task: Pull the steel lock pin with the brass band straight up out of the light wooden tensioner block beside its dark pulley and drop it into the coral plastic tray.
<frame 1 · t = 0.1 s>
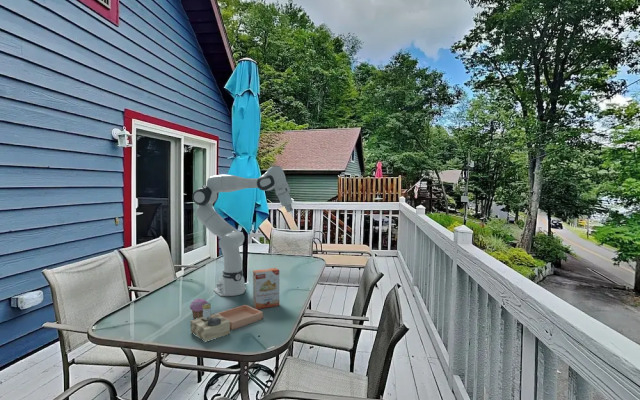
hand: (290, 211, 208), 52 cm above the table, tool tilted 20°, fingers open, 8 cm apart
cupcake: (199, 318, 173), on the table
lock pin: (207, 331, 156), resting in tensioner block
tray: (239, 319, 170), on the table
tensioner block: (210, 333, 154), on the table
cracker box: (266, 306, 189), on the table
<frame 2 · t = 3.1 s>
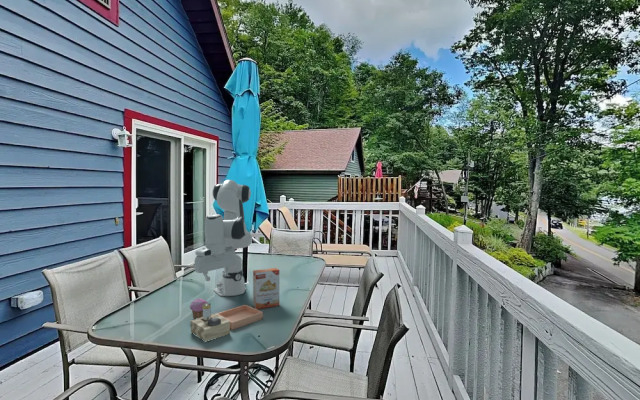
hand: (217, 278, 156), 25 cm above the table, tool pointing down, fingers open, 8 cm apart
nothing on the table moved.
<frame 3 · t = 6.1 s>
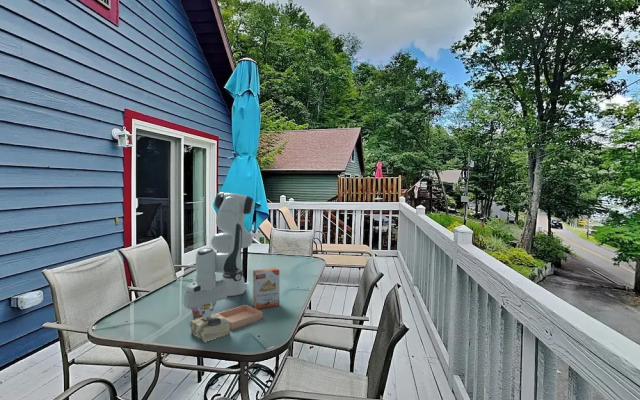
hand: (206, 312, 156), 9 cm above the table, tool pointing down, fingers closed on lock pin, 3 cm apart
lock pin: (207, 331, 156), resting in tensioner block, touching gripper
everything else where it was.
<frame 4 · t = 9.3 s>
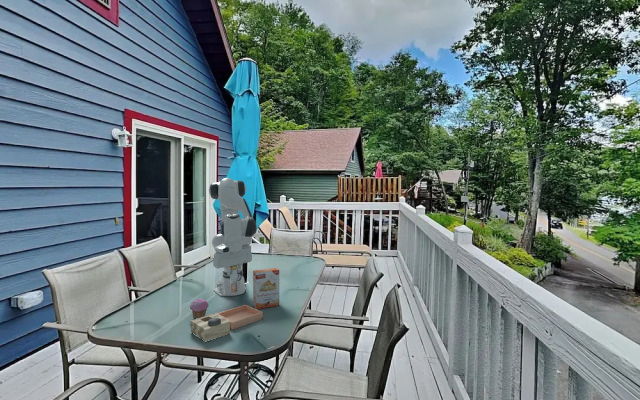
hand: (233, 273, 167), 24 cm above the table, tool pointing down, fingers closed on lock pin, 3 cm apart
lock pin: (233, 291, 168), point 15 cm above the table, touching gripper
everything else where it was.
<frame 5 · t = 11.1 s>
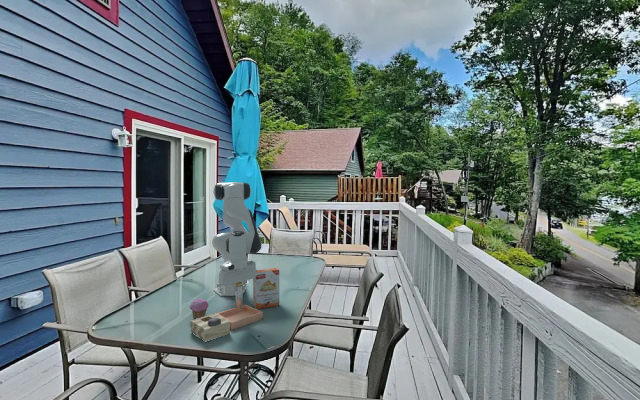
hand: (238, 290, 169), 15 cm above the table, tool pointing down, fingers closed on lock pin, 3 cm apart
lock pin: (239, 307, 170), point 6 cm above the table, touching gripper
everything else where it was.
when the fingers open (12 cm above the table, at t = 12.4 s): lock pin drops 1 cm, resting on tray.
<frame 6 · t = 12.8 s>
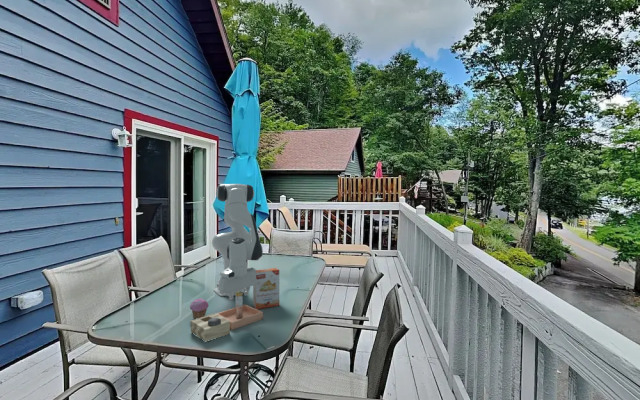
hand: (238, 297, 170), 12 cm above the table, tool pointing down, fingers open, 7 cm apart
lock pin: (239, 317, 170), point 1 cm above the table, touching tray
everything else where it was.
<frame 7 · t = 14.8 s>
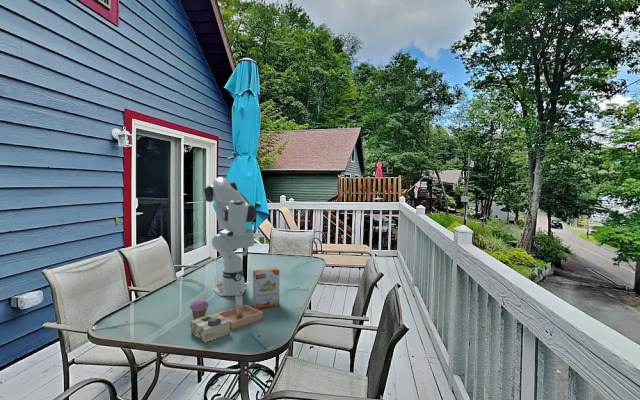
hand: (236, 256, 177), 31 cm above the table, tool pointing down, fingers open, 8 cm apart
nothing on the table moved.
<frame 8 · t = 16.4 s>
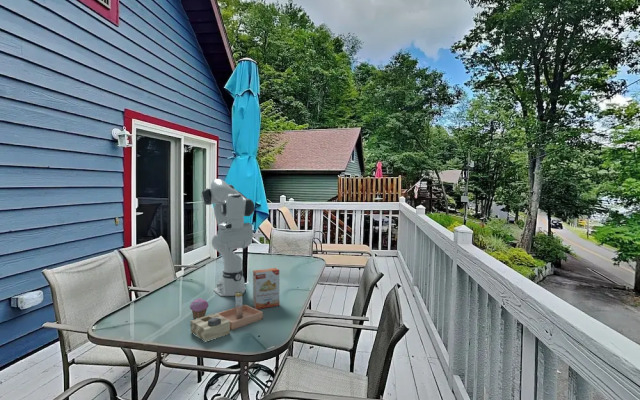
hand: (236, 249, 179), 34 cm above the table, tool pointing down, fingers open, 8 cm apart
nothing on the table moved.
at the end: lock pin inside the target area on the tray (0.0 cm from its centre), point 1.0 cm above the tray's base; the gripper is holding nothing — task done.
